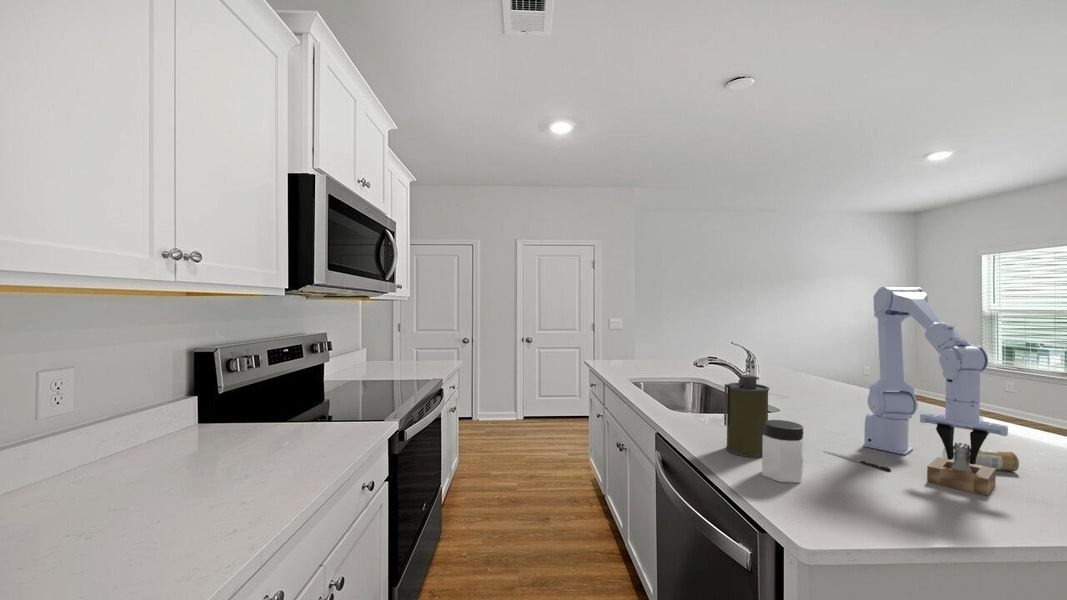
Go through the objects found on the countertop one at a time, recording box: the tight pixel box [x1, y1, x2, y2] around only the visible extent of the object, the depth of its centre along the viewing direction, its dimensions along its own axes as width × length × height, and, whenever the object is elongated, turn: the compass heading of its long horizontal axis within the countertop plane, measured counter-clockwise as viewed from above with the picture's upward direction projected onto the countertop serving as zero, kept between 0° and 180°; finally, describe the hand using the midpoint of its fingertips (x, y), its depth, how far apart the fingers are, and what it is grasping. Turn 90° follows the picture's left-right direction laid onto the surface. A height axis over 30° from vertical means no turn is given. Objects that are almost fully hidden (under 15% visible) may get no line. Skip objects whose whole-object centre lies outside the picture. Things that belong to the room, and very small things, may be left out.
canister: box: [723, 375, 770, 459], centre depth 129 cm, size 11×10×20 cm
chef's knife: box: [822, 450, 892, 473], centre depth 124 cm, size 19×1×3 cm
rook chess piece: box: [951, 442, 972, 473], centre depth 108 cm, size 4×4×8 cm
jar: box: [761, 419, 804, 484], centre depth 111 cm, size 9×8×12 cm
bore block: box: [926, 456, 997, 497], centre depth 108 cm, size 10×10×4 cm
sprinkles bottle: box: [941, 447, 1020, 472], centre depth 117 cm, size 5×5×14 cm
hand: (961, 460), depth 108 cm, fingers closed on rook chess piece, 3 cm apart
